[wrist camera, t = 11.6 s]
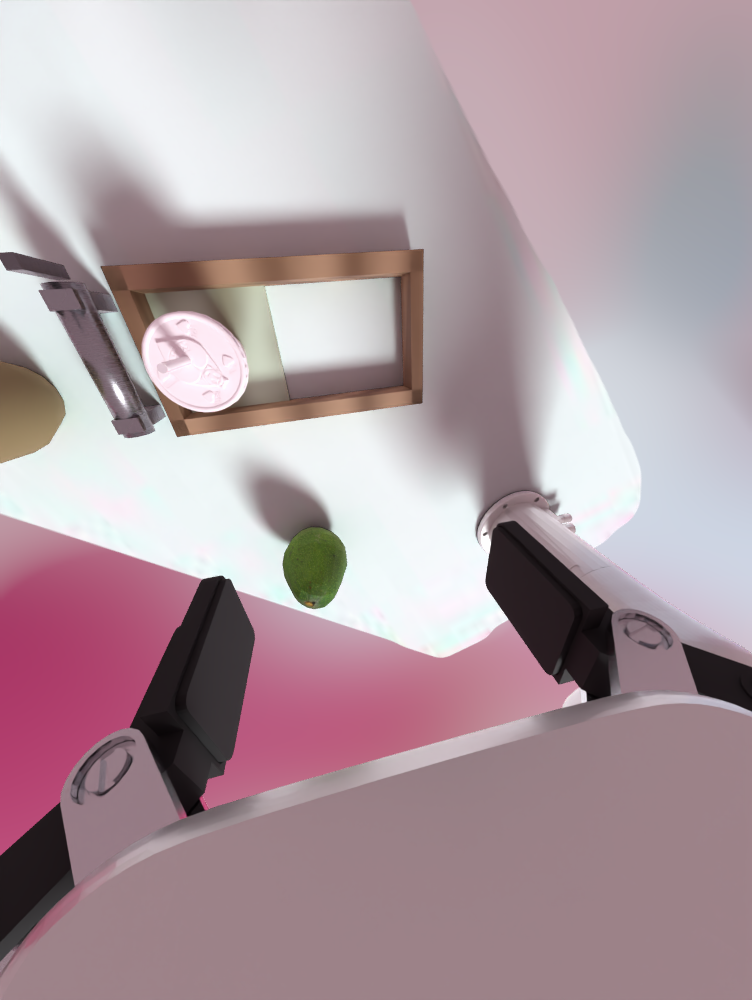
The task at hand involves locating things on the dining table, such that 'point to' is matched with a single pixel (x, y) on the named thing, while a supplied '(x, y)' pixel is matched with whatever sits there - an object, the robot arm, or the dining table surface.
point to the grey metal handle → (91, 342)
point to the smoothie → (195, 361)
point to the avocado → (314, 566)
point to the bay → (268, 327)
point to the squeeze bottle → (26, 411)
